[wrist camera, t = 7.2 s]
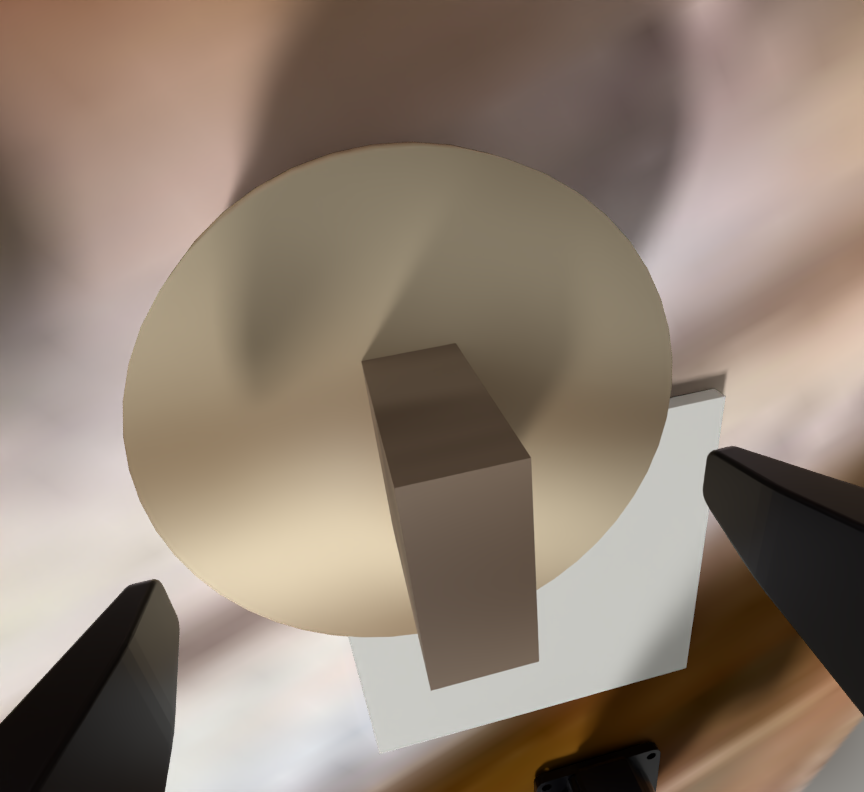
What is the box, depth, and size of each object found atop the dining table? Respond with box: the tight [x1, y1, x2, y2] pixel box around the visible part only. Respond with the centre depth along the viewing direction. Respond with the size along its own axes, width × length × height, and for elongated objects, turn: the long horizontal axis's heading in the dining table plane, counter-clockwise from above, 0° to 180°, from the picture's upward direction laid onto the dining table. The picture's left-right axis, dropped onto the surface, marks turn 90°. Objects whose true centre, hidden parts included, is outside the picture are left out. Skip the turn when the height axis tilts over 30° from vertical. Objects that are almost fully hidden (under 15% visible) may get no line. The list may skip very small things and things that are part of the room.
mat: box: [348, 389, 726, 754], centre depth 22 cm, size 14×14×1 cm
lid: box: [123, 142, 672, 691], centre depth 11 cm, size 11×11×5 cm
